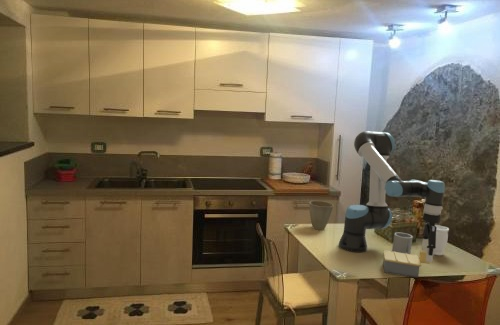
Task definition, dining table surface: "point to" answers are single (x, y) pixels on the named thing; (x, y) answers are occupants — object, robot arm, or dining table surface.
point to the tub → (401, 269)
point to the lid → (405, 258)
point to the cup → (402, 243)
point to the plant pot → (320, 213)
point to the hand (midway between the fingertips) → (426, 256)
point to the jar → (440, 239)
